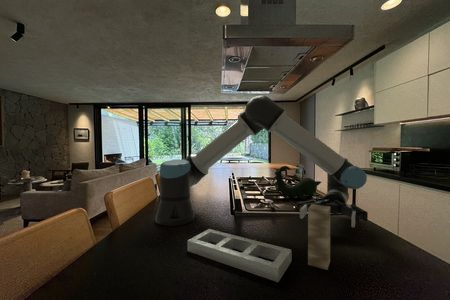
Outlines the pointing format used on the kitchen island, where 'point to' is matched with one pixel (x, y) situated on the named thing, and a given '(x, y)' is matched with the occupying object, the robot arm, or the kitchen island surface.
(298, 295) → the kitchen island surface
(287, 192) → the toy figurine
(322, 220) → the peg
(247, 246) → the grey flat slotted block
